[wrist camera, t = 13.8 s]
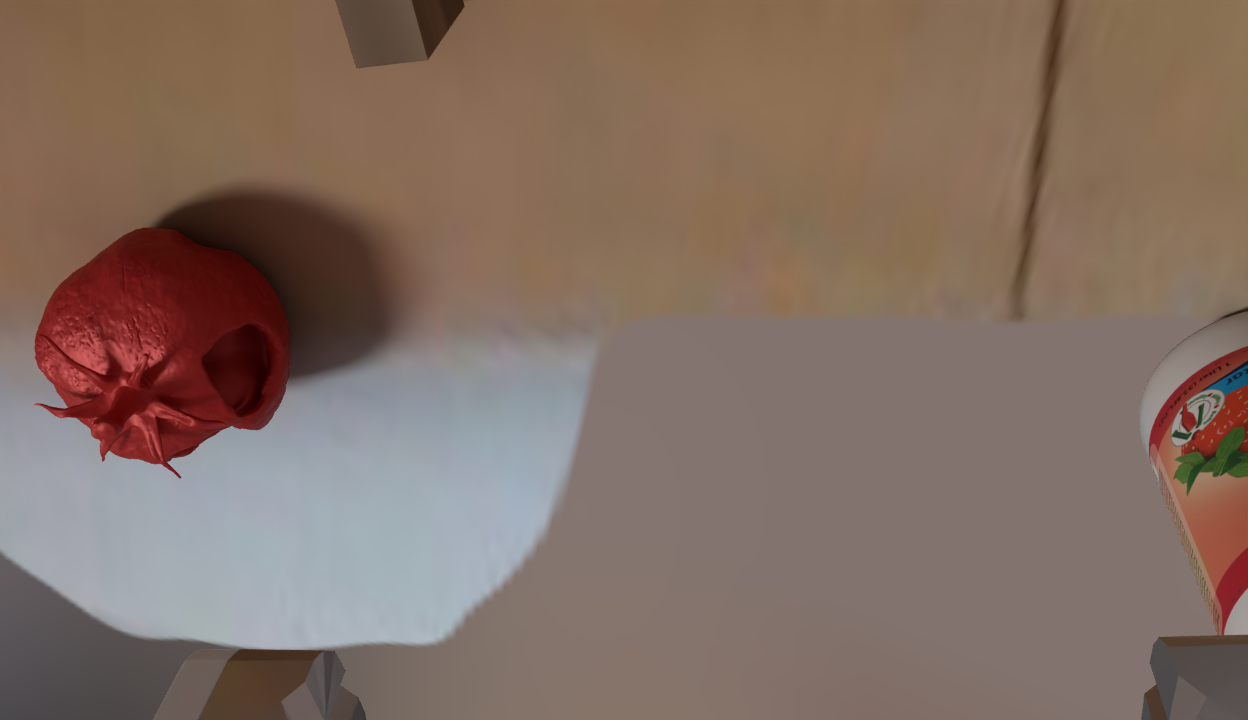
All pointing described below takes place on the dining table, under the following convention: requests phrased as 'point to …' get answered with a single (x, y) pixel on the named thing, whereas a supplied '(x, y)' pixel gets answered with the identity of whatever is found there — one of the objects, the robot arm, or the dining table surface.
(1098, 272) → the dining table surface
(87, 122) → the dining table surface
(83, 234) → the dining table surface
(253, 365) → the pomegranate
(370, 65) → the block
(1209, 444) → the fruit juice
